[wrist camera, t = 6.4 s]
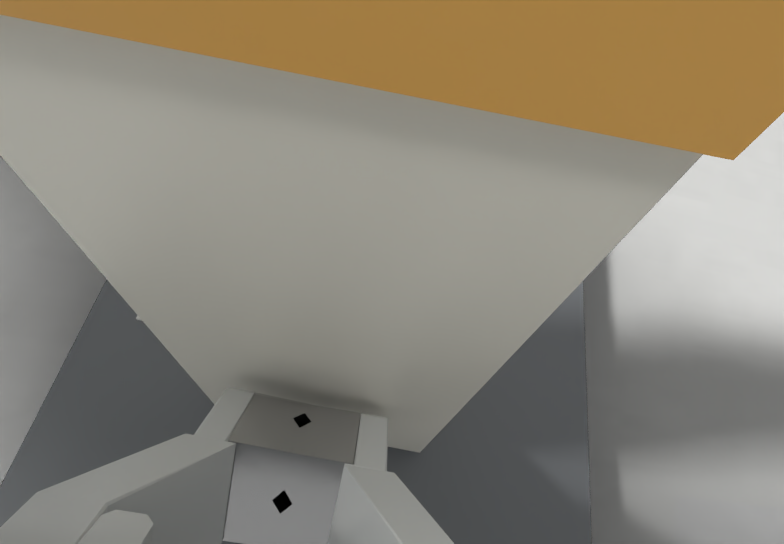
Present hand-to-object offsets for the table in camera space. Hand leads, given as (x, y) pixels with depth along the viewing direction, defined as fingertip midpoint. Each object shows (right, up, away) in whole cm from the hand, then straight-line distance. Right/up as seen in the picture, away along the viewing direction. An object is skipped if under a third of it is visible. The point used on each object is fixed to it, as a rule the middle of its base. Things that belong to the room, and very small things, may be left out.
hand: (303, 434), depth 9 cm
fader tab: (0, 0, +4) cm, 4 cm away
